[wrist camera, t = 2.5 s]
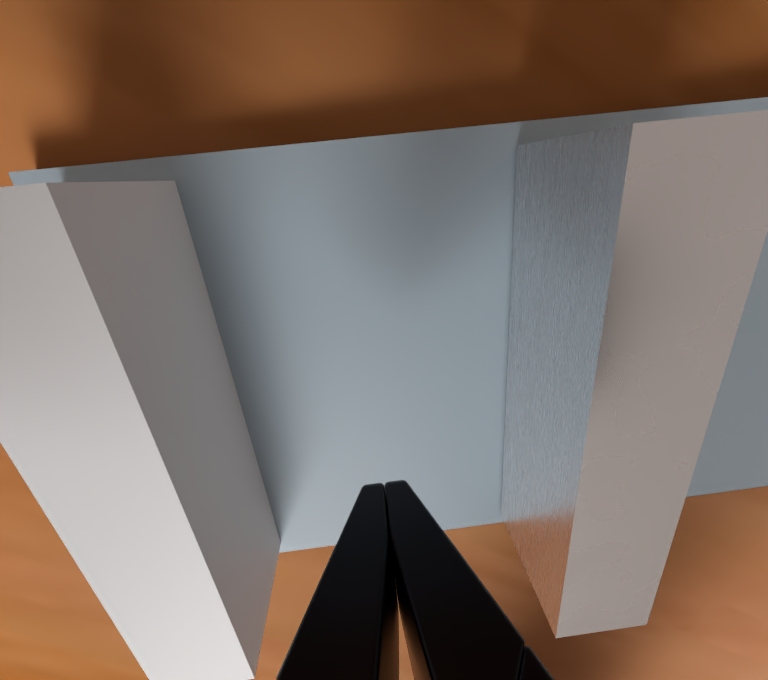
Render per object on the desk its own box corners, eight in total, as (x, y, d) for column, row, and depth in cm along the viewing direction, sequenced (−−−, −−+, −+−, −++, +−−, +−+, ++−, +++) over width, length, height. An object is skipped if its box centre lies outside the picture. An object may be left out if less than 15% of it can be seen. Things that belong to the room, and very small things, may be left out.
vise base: (194, 545, 14) (125, 708, 10) (35, 172, 9) (-261, 167, 5) (749, 470, 15) (913, 590, 11) (897, 86, 10) (1335, 14, 5)
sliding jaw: (500, 515, 14) (555, 638, 10) (516, 145, 9) (632, 123, 5) (568, 505, 14) (646, 624, 10) (620, 135, 9) (805, 106, 5)
